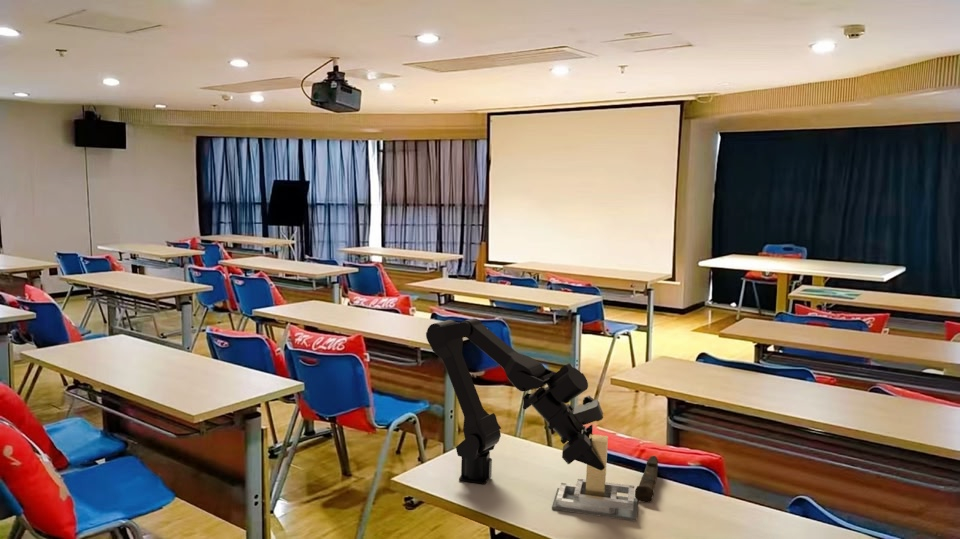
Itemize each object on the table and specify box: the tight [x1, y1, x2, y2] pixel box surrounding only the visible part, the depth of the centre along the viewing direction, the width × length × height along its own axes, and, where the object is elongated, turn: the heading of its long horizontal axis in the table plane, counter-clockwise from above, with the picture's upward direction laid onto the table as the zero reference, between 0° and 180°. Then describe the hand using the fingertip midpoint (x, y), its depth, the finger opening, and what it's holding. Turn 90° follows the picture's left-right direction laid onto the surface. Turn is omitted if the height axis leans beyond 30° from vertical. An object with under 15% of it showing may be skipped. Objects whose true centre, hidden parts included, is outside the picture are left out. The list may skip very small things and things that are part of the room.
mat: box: [551, 487, 638, 522], centre depth 147 cm, size 18×10×1 cm, turn 76°
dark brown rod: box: [634, 455, 659, 503], centre depth 158 cm, size 19×4×5 cm, turn 156°
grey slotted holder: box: [556, 478, 635, 515], centre depth 147 cm, size 16×9×3 cm, turn 76°
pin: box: [585, 433, 609, 497], centre depth 146 cm, size 4×4×13 cm
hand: (603, 464), depth 146 cm, fingers closed on pin, 4 cm apart
